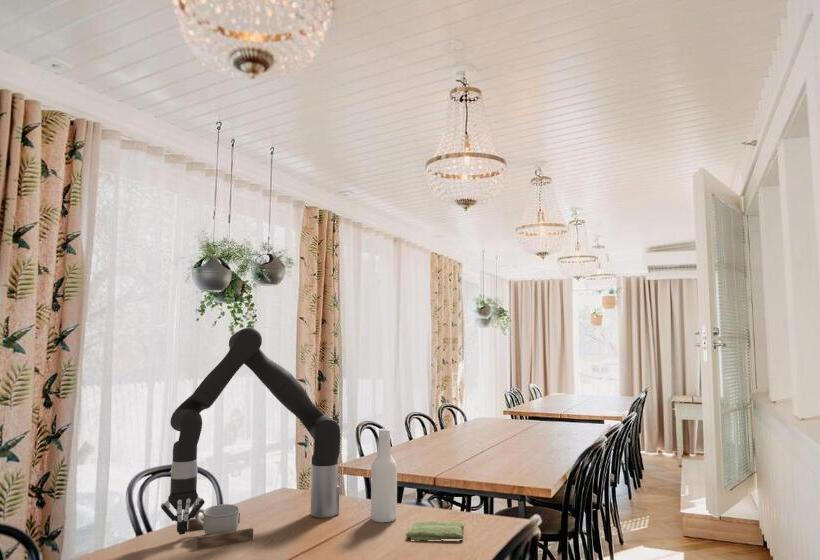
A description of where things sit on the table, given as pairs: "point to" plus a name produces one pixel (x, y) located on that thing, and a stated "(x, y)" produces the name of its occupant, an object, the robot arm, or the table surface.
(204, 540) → the pair of wooden slats
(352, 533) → the table surface
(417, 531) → the washcloth
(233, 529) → the teacup
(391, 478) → the alcohol
